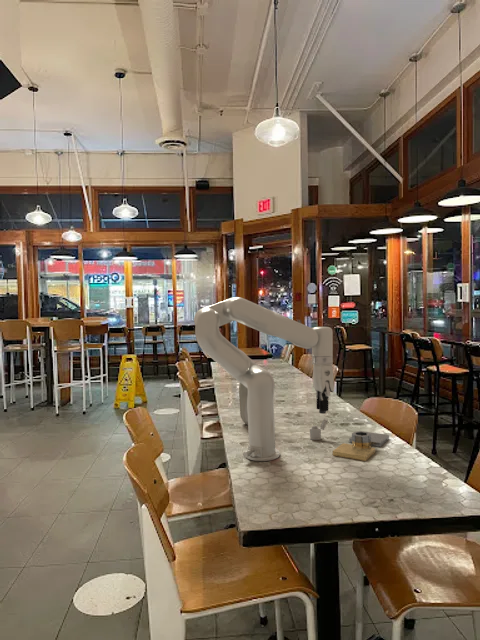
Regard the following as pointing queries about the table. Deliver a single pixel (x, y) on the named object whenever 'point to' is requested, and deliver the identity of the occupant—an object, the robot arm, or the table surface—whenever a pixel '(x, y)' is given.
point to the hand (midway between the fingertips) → (322, 409)
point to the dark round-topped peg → (319, 404)
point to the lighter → (317, 431)
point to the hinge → (361, 445)
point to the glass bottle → (243, 403)
